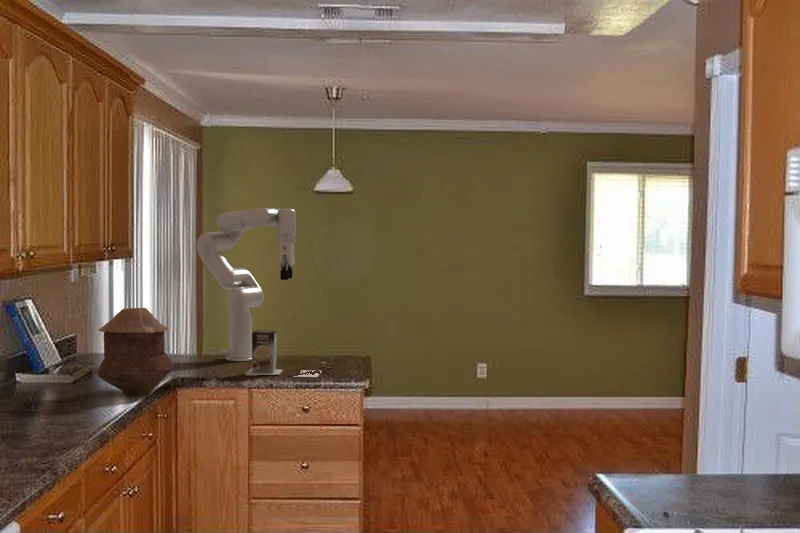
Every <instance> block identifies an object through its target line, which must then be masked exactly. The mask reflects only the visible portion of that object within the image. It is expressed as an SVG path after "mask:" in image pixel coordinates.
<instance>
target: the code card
mask: <svg viewBox="0 0 800 533" xmlns="http://www.w3.org/2000/svg"><path fill="white" fill-rule="evenodd" d="M302 371H303V372H302ZM307 371H308V372H309V371H310V370H304V369H303V370H302V369H301V372H300V374H302V373H305V372H307ZM311 371H312V372H314V371H315V370H311ZM319 371H320V374H321V373H323V372H322V371H323V370H319ZM307 374H308V373H306V375H305V374H303V375H298V376H293V377H294V378H300V377H301V378H318V377H319V375H320V374H318V373H315V374H314V375H312V374H310V373H309V374H308V375H307Z"/></svg>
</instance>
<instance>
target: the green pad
mask: <svg viewBox="0 0 800 533" xmlns="http://www.w3.org/2000/svg"><path fill="white" fill-rule="evenodd" d="M282 371H284V369H280V368H279V369H277V368H276V371H275V372H274V373H264V372H252V368H250V369H249V370H247V371H246V372H245V376H257V375H279V374H280V373H281V372H282ZM282 373H283V372H282ZM282 373H281V374H282ZM281 374H280V375H281ZM280 375H279V376H280Z"/></svg>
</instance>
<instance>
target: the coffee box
mask: <svg viewBox="0 0 800 533" xmlns="http://www.w3.org/2000/svg"><path fill="white" fill-rule="evenodd" d="M277 344H278V330H261V329H260V330H259V329H257V330H256V329H255V330H252V360H251V369H252V372H264V373H274V372H275V371H276V369H277V350H278V348H277V346H278V345H277Z"/></svg>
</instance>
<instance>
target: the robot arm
mask: <svg viewBox="0 0 800 533" xmlns="http://www.w3.org/2000/svg"><path fill="white" fill-rule="evenodd" d="M296 220H297V212H296V210H295V209H294V208H277V207H275V208H274V207H260V208H259V207H258V208H251V209H250V208H249V209H245V210H237V211H229V212H224V213H221V214H219V215H218V216H217V218H216V221H215V224H216V226H217V228H218V229H219V230H220V231H208V232H204V233H202V234H201V235H200V236H199V237H198V238H197V244H196V249H197V254H198V256H199V258H200V259H201V261H202V262H203V263H204V265H205V266H206V268H208V270H209V271H210V273H211V275H212V276H213V277H214V279H215V280H216V281H217V283H218V285H219V286H220V287H221V288H222V289H223V290H227V291H229V292H228V293H227V299H226V301H227V305H228V306H227V307H228V312H229V348H228V349H220V350H219V354H220V355H226V356H225V359H226V361H229V362H230V361H231V362H249V361H252V332H253V322H252V321H253V319H252V315H251V311H250V310H249V309H250V308H253V309H254V308H257V307H260V306H262V304H263V303H264V301H265V295H264V291H263V289H262V287H261V286H260V285H259V283H258V282H257V281H256V279H255V277H254V276H253V275H252V273H251V272H250V271H249V270H248V269H246V268H244V267H233V266H232V265H231V264H230V263H229V261H228V260H227V259H226V258H225V256H224V255H222V254H221V253H220V252H222V251H223V252H225V251H230V250H231V249H233V247H235V246H236V244H237V243H238V241H239V239H240V238H241V237H242V235H243V234H244V232H245V231H248V230H251V229H252V228H255V227H277V242H278V243H279V265H280V278H279V280H280V281H288V280H289V279H293V265H295V263H296V259H295V243H296V241H297V238H296V236H297V234H296V233H297V232H296V231H297V229H296V227H297V226H296V225H297V221H296Z"/></svg>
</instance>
